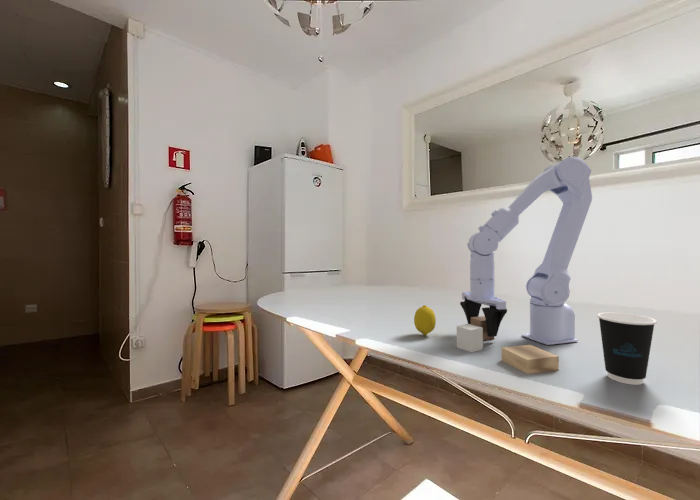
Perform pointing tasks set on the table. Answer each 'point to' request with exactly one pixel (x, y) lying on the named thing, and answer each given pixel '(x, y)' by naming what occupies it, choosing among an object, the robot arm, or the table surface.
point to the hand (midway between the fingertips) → (482, 332)
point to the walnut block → (481, 323)
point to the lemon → (424, 320)
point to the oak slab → (530, 359)
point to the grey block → (469, 337)
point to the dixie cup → (626, 345)
